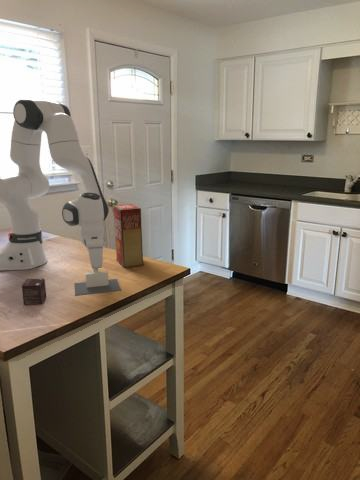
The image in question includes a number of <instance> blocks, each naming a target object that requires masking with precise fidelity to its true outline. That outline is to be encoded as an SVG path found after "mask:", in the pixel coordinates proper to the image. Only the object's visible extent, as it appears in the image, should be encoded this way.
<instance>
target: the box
mask: <svg viewBox="0 0 360 480" xmlns="http://www.w3.org/2000/svg"><path fill="white" fill-rule="evenodd" d="M21 289H22V290H21V291H22V293H21V294H22V299H23V301H22V302H23V306H37V305H38V306H39V305H41V306H43V304H44V303H45V301H46V299H47V289H46V280H45V278H28V279H26V280H24V282H23V283H22V285H21Z"/></svg>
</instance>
